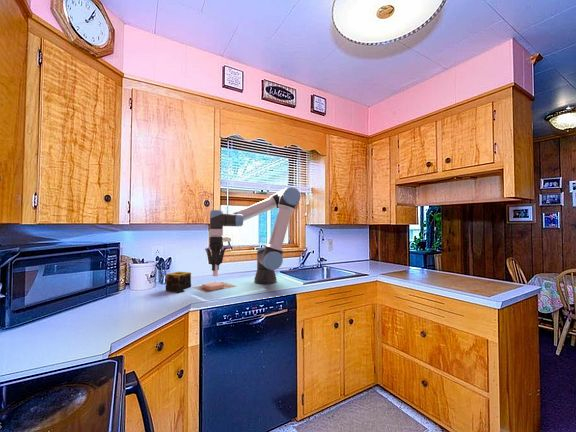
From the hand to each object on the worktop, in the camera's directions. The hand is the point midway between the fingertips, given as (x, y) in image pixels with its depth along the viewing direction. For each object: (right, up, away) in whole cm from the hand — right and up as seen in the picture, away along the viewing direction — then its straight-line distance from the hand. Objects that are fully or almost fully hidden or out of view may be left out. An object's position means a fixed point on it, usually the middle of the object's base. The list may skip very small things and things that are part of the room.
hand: (215, 276), depth 156 cm
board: (-1, -8, +2) cm, 8 cm away
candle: (-21, -8, -2) cm, 22 cm away
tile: (+2, -6, +2) cm, 7 cm away
